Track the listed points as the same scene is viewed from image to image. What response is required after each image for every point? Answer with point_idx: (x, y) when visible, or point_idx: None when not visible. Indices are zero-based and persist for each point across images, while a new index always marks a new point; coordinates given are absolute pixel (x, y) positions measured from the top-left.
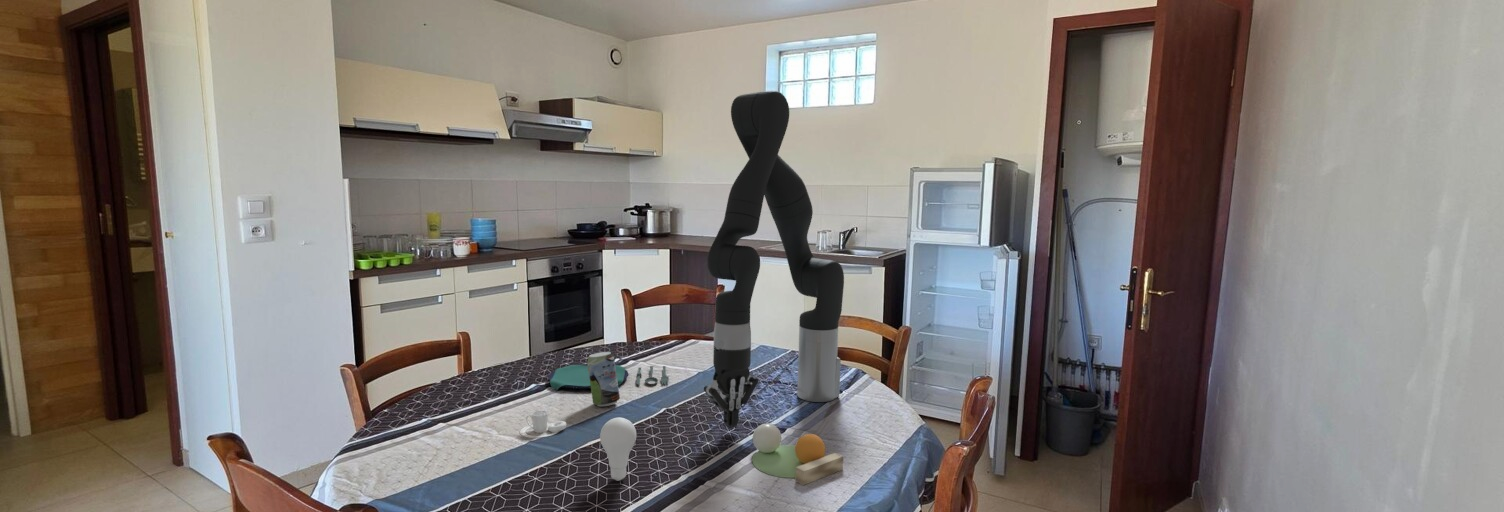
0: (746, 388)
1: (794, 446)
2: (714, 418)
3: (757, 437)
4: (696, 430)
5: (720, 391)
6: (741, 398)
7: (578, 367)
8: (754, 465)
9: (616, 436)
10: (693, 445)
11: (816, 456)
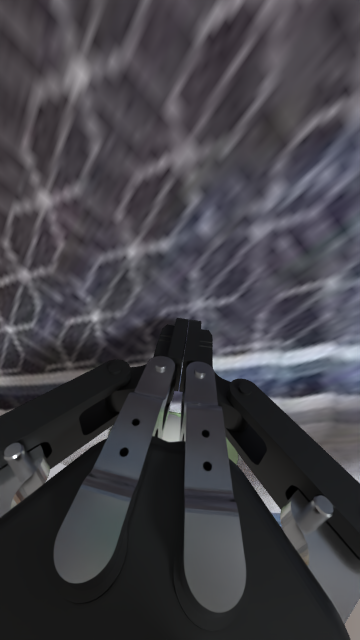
0: (271, 479)
1: (227, 441)
2: (269, 161)
3: None
4: (118, 219)
5: (119, 419)
6: (227, 426)
7: None
8: (111, 429)
9: None
10: (52, 302)
11: None
